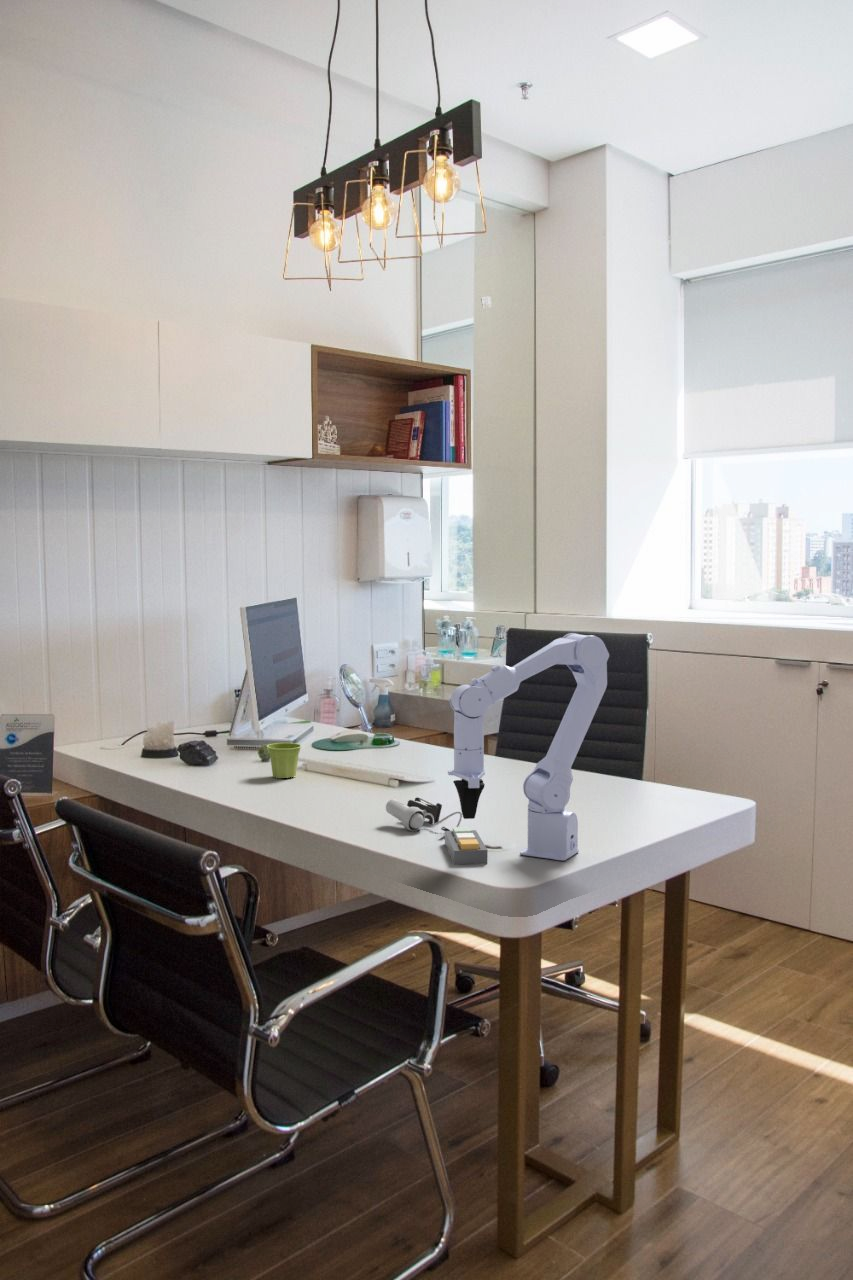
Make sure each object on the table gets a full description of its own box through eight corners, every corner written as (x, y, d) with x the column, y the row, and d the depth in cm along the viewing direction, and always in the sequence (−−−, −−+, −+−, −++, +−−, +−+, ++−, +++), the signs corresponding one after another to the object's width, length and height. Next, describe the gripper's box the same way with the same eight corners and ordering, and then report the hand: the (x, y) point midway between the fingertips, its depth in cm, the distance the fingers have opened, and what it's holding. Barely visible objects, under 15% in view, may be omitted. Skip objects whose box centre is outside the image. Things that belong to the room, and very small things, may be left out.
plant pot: (306, 774, 289) (305, 743, 288) (296, 781, 280) (295, 748, 279) (273, 773, 290) (273, 742, 290) (262, 780, 281) (261, 747, 281)
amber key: (459, 848, 204) (459, 839, 204) (476, 848, 205) (476, 839, 205) (461, 853, 201) (461, 844, 201) (478, 852, 201) (478, 843, 201)
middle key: (455, 842, 209) (455, 833, 209) (472, 841, 210) (472, 832, 210) (458, 846, 206) (457, 837, 206) (475, 846, 206) (475, 837, 206)
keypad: (444, 843, 215) (444, 831, 215) (475, 842, 216) (475, 830, 216) (454, 864, 200) (454, 850, 200) (487, 863, 201) (487, 849, 201)
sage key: (452, 835, 214) (452, 827, 214) (469, 835, 215) (469, 826, 215) (454, 840, 211) (454, 831, 211) (471, 839, 211) (471, 830, 211)
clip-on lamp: (471, 844, 227) (416, 812, 239) (477, 816, 226) (422, 785, 238) (431, 849, 218) (376, 815, 231) (438, 820, 217) (383, 788, 230)
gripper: (443, 742, 208) (443, 809, 209) (452, 754, 194) (452, 827, 195) (479, 741, 209) (478, 809, 210) (490, 754, 195) (490, 826, 196)
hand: (468, 817), depth 203 cm, fingers closed
